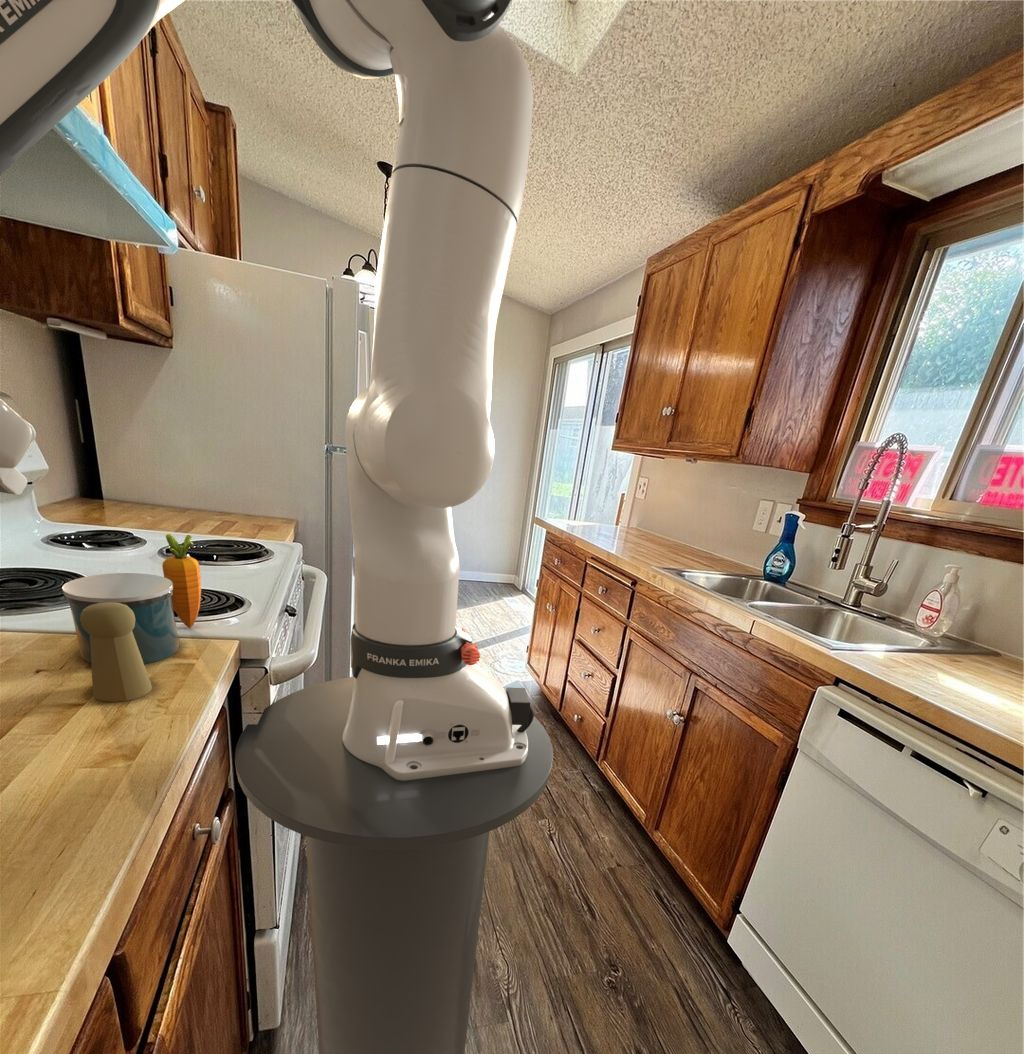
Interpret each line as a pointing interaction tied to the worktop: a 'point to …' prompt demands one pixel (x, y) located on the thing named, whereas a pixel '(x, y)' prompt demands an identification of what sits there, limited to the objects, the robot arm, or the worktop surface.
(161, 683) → the worktop surface
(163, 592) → the pot
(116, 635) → the tan pepper shaker
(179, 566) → the carrot
